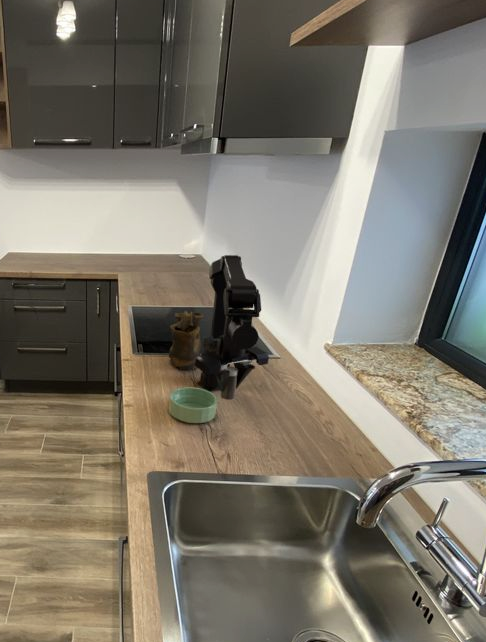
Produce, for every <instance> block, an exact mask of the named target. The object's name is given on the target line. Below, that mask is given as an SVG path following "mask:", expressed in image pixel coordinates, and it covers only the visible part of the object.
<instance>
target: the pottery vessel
mask: <svg viewBox="0 0 486 642" xmlns="http://www.w3.org/2000/svg"><path fill="white" fill-rule="evenodd" d="M174 317H175V318H176V320H177V322H176V323H174V324H171V325H170V326H169V328H170V329H171V336H172V345H171V347H170V348H169V351H168V352H169V353H168V358H169V359H170V360H169V363H171V364H172V365H174V367H175V368H176V367H178V368H179V369H180V371H182V370H183V371H191V370H195V369H196V368H197V367H196V366H195V360H196V358H197V357H198V356H201V354H202V341H201V338H200V331H201V323H202V319H203V317H204V314H202V313H200V312H195V313H194V311H190V313H189V312H188V311H187V310H185V311H183V312H176V313H175V314H174Z"/></svg>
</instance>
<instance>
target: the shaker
mask: <svg viewBox="0 0 486 642" xmlns="http://www.w3.org/2000/svg"><path fill="white" fill-rule="evenodd" d="M227 370H228V371H230V374H229V378H228V381H227V384H226V388H225V390H224V391H223V392H222V391H221V390H220V398H222V399H224V400H227V401H230V400H234V399H235V398H236V391H237V389H236V384H237V377H238V369H237V368H235V367H234V366H230V367H227Z"/></svg>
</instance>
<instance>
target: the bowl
mask: <svg viewBox="0 0 486 642" xmlns="http://www.w3.org/2000/svg"><path fill="white" fill-rule="evenodd" d="M217 405H218V397H217V396H216V395H215V394H214V393H213V392H212V391H207V390H206V389H205V388H200V387H193V386H190V387H187V386H185V387H180V388H176V389H174V390H172V391H171V392H170V394H169V400H168V412H169V414H170V415H171V416H172V417H173V418H175V419H176V420H178V421H181V422H184V423H188V424H202V423H208V422H210V421H212V420H214V418H215V417H216V412H217Z"/></svg>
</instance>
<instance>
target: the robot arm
mask: <svg viewBox="0 0 486 642" xmlns="http://www.w3.org/2000/svg"><path fill="white" fill-rule="evenodd" d="M208 278H209V280H210V285H211V287H212V289H213V291H214V300H213V312H212V319H211V329H210V330H211V331H210V336H205V337H203V342H202V343H203V344H202V345H203V346H202V347H203V352H201V354H200V356H198V357H197V358H196V360H195V366H196V368H197V369H198V370H200V371H201V373H200V377H199V381H198V382H197V383H198V384H199V385H200V386H201V387H202V388H203V389H204V390H207V391H209V392H213V391H218V390H220V392H221V391H222V392H223V391H224V390H225V388H226V384H227V381H228V378H229V374H230V371H228V370H227V367H231V365H232V364H233V367H235V368H237V369H238V377H237V384H236V390H237V389H238V387H239V386H240V385H241V383H242V382H243V381H244V380H245V379H246V377H248V376H249V374H250V373H251V372H252V371H253V370H255V369H256V365H253V361H255V363H256V364H257V365H258V366H263V365H268V364H269V361H270V356H269V353H268V352H266V351H264V350H263V349H261V348H259V347H257V346H255V345H256V344H257V343H258V341H259V332H258V330H257V328H256V327H255V326H254V324H253V318H260V313H261V311H262V300H261V294H260V289H258V288H257V286H256V283H255V282H254V281H253V280H250V279H248V278H247V277H246V274H245V271H244V269H243V262H242V256H239V255H238V254H237V255H233V254H224V255H221V256H220V257H219V259H217V260H214V261H212V262H211V264H210V266H209V270H208Z"/></svg>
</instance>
